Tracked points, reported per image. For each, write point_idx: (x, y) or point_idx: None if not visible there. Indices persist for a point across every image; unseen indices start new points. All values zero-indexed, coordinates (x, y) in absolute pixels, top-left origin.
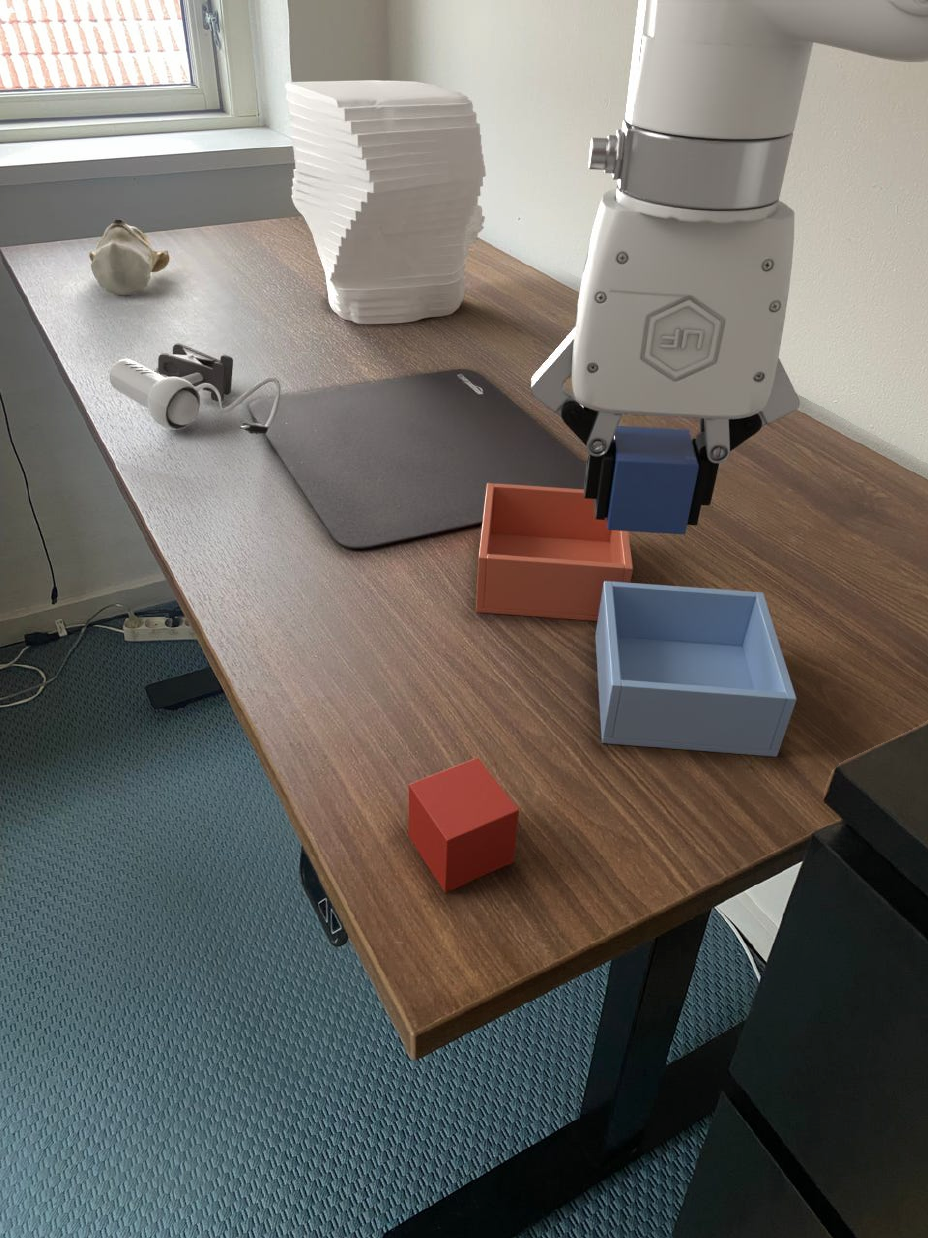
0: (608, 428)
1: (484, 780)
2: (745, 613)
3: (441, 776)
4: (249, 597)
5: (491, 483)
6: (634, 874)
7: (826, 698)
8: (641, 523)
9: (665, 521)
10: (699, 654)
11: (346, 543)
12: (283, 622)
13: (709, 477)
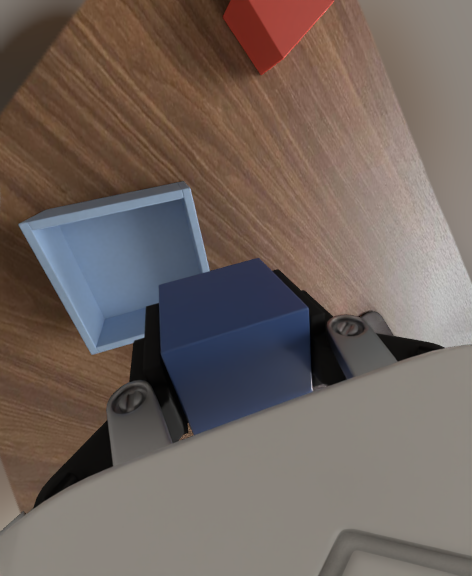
0: (357, 354)
1: (274, 23)
2: (104, 335)
3: (309, 19)
4: (420, 247)
5: (312, 386)
6: (125, 27)
7: (25, 291)
8: (220, 273)
9: (189, 284)
10: (134, 298)
11: (374, 314)
12: (400, 231)
13: (142, 366)
